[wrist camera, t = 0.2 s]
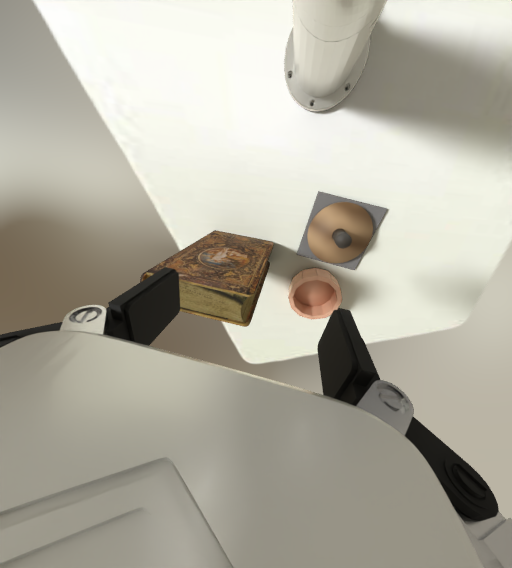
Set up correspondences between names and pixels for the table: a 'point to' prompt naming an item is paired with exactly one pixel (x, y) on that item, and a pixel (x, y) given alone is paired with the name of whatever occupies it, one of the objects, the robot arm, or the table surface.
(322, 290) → the bowl
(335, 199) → the mat
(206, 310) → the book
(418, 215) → the table surface
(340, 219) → the lid
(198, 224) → the table surface
